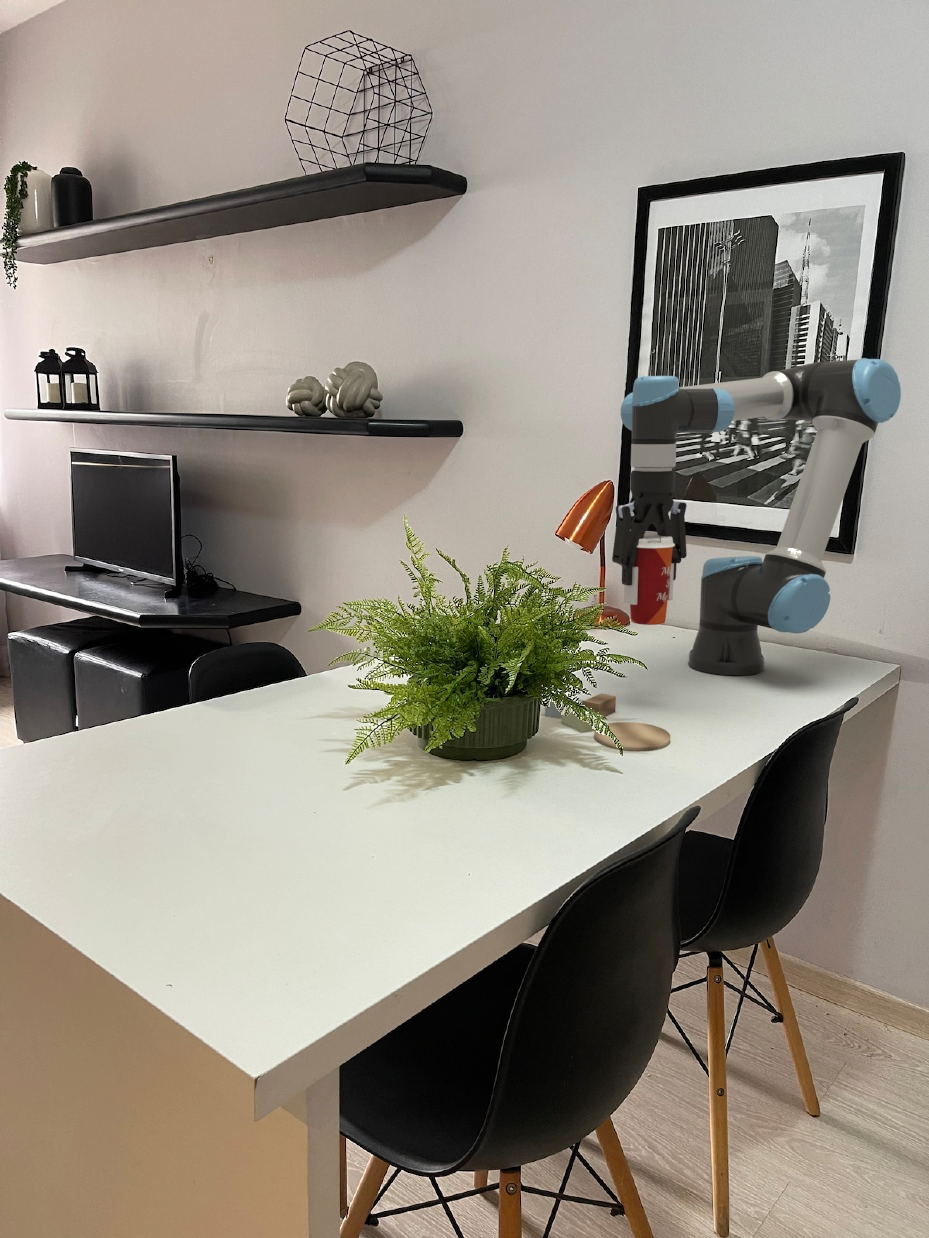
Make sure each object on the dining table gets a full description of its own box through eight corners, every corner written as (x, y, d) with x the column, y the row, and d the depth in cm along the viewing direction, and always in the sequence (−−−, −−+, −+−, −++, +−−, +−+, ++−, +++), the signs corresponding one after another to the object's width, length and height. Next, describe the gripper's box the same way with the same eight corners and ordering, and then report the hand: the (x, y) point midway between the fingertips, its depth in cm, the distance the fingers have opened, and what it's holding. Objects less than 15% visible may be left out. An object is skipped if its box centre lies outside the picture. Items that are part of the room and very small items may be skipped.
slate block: (583, 716, 164) (583, 699, 163) (578, 721, 161) (579, 704, 160) (549, 712, 166) (550, 695, 165) (545, 717, 163) (545, 700, 162)
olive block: (561, 723, 159) (562, 706, 159) (576, 721, 161) (576, 704, 160) (582, 733, 154) (583, 716, 154) (597, 731, 156) (597, 713, 155)
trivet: (638, 722, 160) (638, 718, 159) (686, 743, 149) (686, 738, 149) (579, 732, 154) (579, 728, 154) (624, 755, 144) (625, 750, 143)
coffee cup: (676, 626, 163) (679, 539, 159) (628, 626, 163) (630, 539, 160) (666, 616, 171) (669, 533, 168) (621, 616, 171) (623, 533, 168)
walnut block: (600, 709, 167) (601, 693, 167) (615, 712, 166) (616, 696, 165) (583, 717, 163) (583, 700, 162) (598, 720, 161) (598, 704, 160)
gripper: (683, 466, 169) (678, 592, 174) (591, 470, 160) (589, 603, 165) (712, 468, 162) (706, 599, 167) (618, 472, 153) (615, 610, 158)
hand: (648, 600), depth 166 cm, fingers closed on coffee cup, 7 cm apart
